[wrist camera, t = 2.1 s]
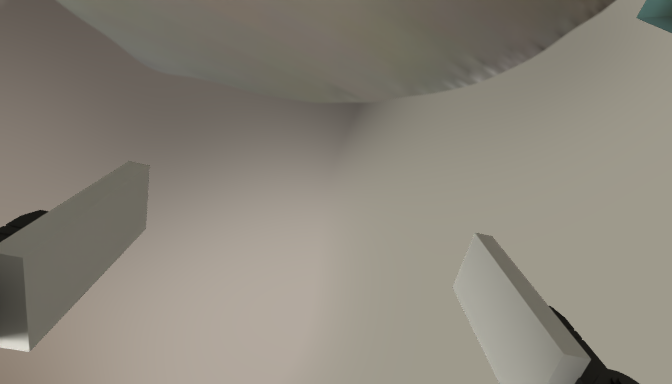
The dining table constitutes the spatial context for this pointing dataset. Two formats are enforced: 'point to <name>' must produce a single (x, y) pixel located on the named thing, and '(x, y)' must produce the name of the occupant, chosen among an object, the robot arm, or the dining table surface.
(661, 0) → the teal and brown block
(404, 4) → the dining table surface
